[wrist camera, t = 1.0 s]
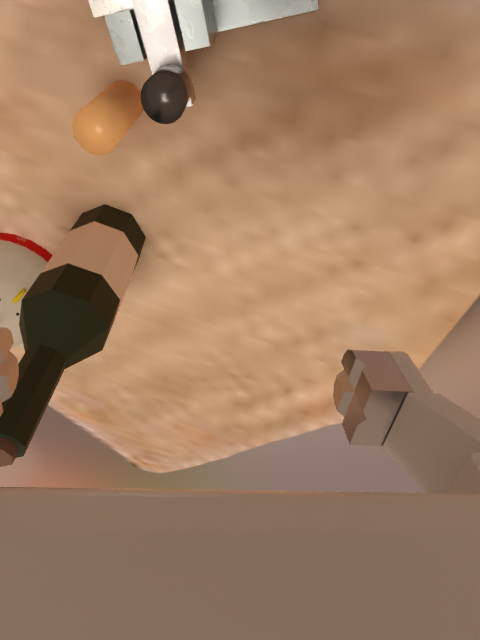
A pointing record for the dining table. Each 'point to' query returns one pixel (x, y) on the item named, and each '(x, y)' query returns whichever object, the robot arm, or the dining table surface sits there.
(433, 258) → the dining table surface
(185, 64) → the crank handle
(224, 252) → the dining table surface
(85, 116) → the orange rounded cylinder
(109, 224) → the wine bottle
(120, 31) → the mount
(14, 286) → the kitchen timer
